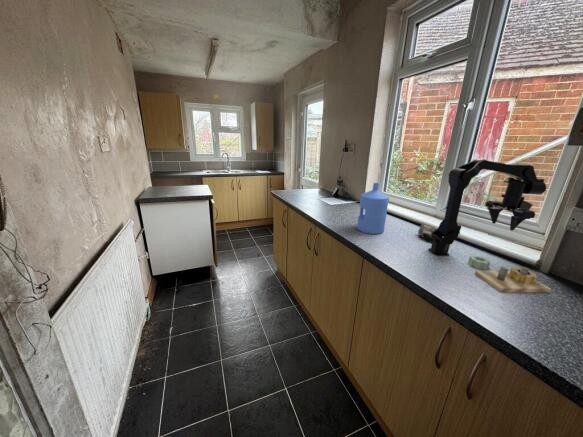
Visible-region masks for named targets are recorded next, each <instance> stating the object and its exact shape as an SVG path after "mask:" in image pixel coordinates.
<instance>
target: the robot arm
mask: <svg viewBox="0 0 583 437" xmlns="http://www.w3.org/2000/svg"><path fill="white" fill-rule="evenodd" d="M483 170H485V171H486V170H487V171H492V172H498V173H502V174H504V175H506V176H509V177H508V178H506V179H504V180H502V181H503V183H506V184H507V186H506V189H505V192H504V194H503V193H502V194H501V196H500V197H501V198H502V201H499V200H488V201H486V203H485V205H484V206H485V207H486V209H487V210H488V212H489V216H490V218H491V219H490V220H491V223H492V224H496V223H497V220H498V218H499V216H500V213H502V211H508V212H511V213H512V215H511V217H510V222H509V223H510V224H509V231H511V232H513V231H514V230H515V229H516V228H517V227H518V226H519V225H520V224H521V223H522V222H524V221H525V220H530V219H535V217H536V212H535V211H534V210H531V208H532V207H533V204H532V203H530V202H528V201H527V200H525V197H524V196H523V195H542V194H544V193H545V192H546V190H547V185H546V183H545V182H544V181H545V179H544V178H538V177H537V175H536V172H535V166H534V165H531V164H522V163H503V162H498V161H497V162H496V161H491V160H486V159H485V158H484V159H483V158H475V159H473V160H471V161H470V162H467V163H465V164H461V165H460V166H459V167H457V168H456V167H455V168H453V169H451V170H450V171H449V173H448V185H449V188H450V189H449V195H448V198H447V199H448V200H447V205H446V209H445V213H444V219H443V220H442V221H441V222H440V223H439V226H438V227H437V229H435V231H434V232H433V233H431V235H432V237H433V238H434V239H433V242H431V246H430V248H428V251H430V252H432V254H434V255H436V256H450V253H449V250H450V247H451V246H450V245H452V244H453V243H454V242H455V240H456V239H458V236H459V235H461V229H462V225H460V224H459V223H458V217H459V212H460V210H461V209H460V208H461V206H462V205H461V203H462V199H463V195H464V192H465V189H467V187H468V186H469V185H470V183H471V180H472V179H473V178H475V177H476V176H478V175H479V174H480V173H481V171H483Z"/></svg>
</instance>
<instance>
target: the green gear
mask: <svg viewBox="0 0 583 437" xmlns="http://www.w3.org/2000/svg"><path fill="white" fill-rule="evenodd" d="M467 263H468V265H469V266H471V267H474V268H475V269H478V270H479V269H482V270H487V269H489V268H490V266H491V261H490V259H489V258H487V257H484V256H481V255H475V254H474V255H473V254H472V255H470V256H469V259H468V262H467Z"/></svg>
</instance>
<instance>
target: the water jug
mask: <svg viewBox="0 0 583 437" xmlns="http://www.w3.org/2000/svg"><path fill="white" fill-rule="evenodd" d="M379 185H380V183H378V182H373V184H372V189H371V190H369V191H365V192H363V193H360V198H359V207H360V209H359V215H358V218H357V224H356V229H357V230H358V231H360V232H362V233H364V234H370V235H378V234H382V233H383V232H384V231H385V228H386V227H385V225H386V220H387V219H386V218H387V212H388V206H389V203H390V202H389V201H390V200H389V198H390V197H389V195H387V194H385V193H384V192H381V191H380V190H379V188H380V187H379ZM364 210H365V211H364Z"/></svg>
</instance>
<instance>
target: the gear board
mask: <svg viewBox="0 0 583 437" xmlns="http://www.w3.org/2000/svg"><path fill="white" fill-rule="evenodd" d="M520 268H521V269H520V273H522V274H526V275H527V274H528V272H529V271H530V269H529V268H528V267H525V266H522V267H520ZM510 271H511V270H509V268H507V267H503V266H501V267H500V268H499V270H475V272H474V275H475V276H477V277H479V278H480V279H481V280H482V281H484V282H486V283H487V284H488V285H489V286H491V287H493V288H494V289H496V290H497V291H498V292H499V293H550V292H551V290H552V288H550V286H548V285H545V284H543V283H542V282H540V281H538V280H536V281H535V283H534V284H524V283H521V282H517V281H515V280H514V279H513V278H510V277H509V274H510Z"/></svg>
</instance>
